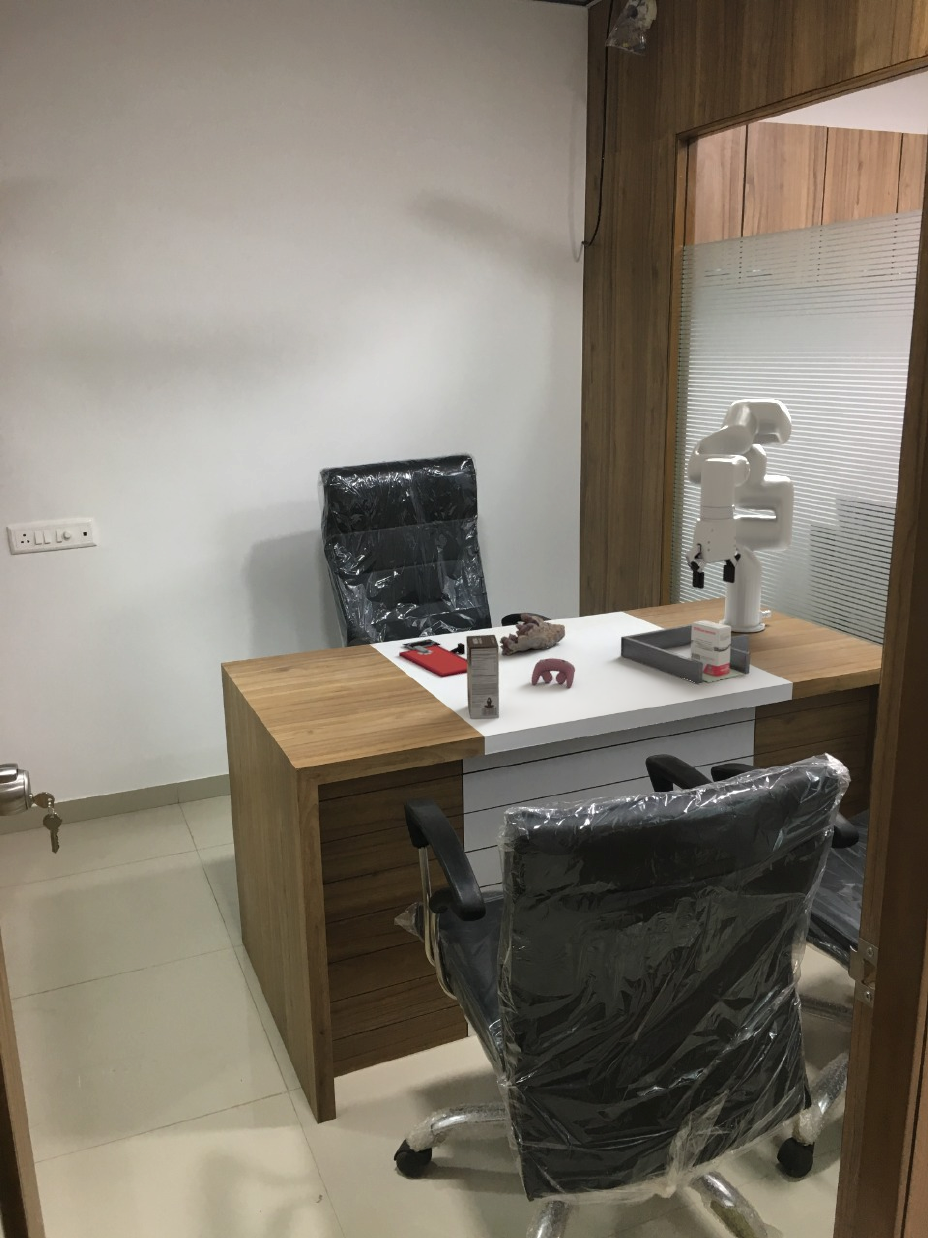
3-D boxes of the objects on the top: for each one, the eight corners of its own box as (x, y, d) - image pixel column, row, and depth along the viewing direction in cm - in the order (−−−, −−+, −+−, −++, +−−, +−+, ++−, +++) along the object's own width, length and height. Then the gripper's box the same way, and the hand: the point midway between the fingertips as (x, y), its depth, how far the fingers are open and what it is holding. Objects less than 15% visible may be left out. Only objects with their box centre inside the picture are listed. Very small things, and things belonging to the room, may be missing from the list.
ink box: (730, 673, 240) (732, 625, 238) (716, 677, 237) (719, 628, 235) (702, 665, 247) (704, 618, 244) (688, 669, 244) (690, 622, 241)
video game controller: (574, 690, 236) (577, 661, 237) (571, 687, 232) (574, 657, 233) (533, 687, 239) (536, 658, 240) (529, 684, 235) (532, 654, 236)
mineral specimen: (528, 641, 253) (510, 609, 257) (503, 663, 258) (485, 631, 262) (574, 637, 269) (556, 607, 272) (549, 658, 274) (532, 628, 278)
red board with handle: (435, 641, 275) (386, 650, 267) (435, 631, 274) (386, 640, 267) (494, 669, 250) (442, 680, 242) (494, 658, 249) (441, 669, 242)
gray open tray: (703, 639, 271) (703, 621, 270) (784, 664, 248) (785, 645, 246) (620, 655, 258) (621, 637, 256) (698, 684, 234) (699, 663, 233)
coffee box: (466, 705, 222) (465, 635, 218) (495, 704, 223) (494, 634, 219) (470, 719, 213) (469, 646, 209) (500, 718, 214) (499, 645, 210)
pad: (709, 664, 249) (709, 662, 249) (742, 675, 240) (742, 673, 240) (676, 671, 244) (676, 669, 244) (708, 682, 235) (708, 681, 235)
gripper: (732, 507, 240) (728, 577, 245) (676, 514, 232) (674, 587, 236) (755, 511, 234) (751, 582, 238) (699, 518, 225) (697, 593, 230)
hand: (713, 584), depth 237 cm, fingers open, 9 cm apart
